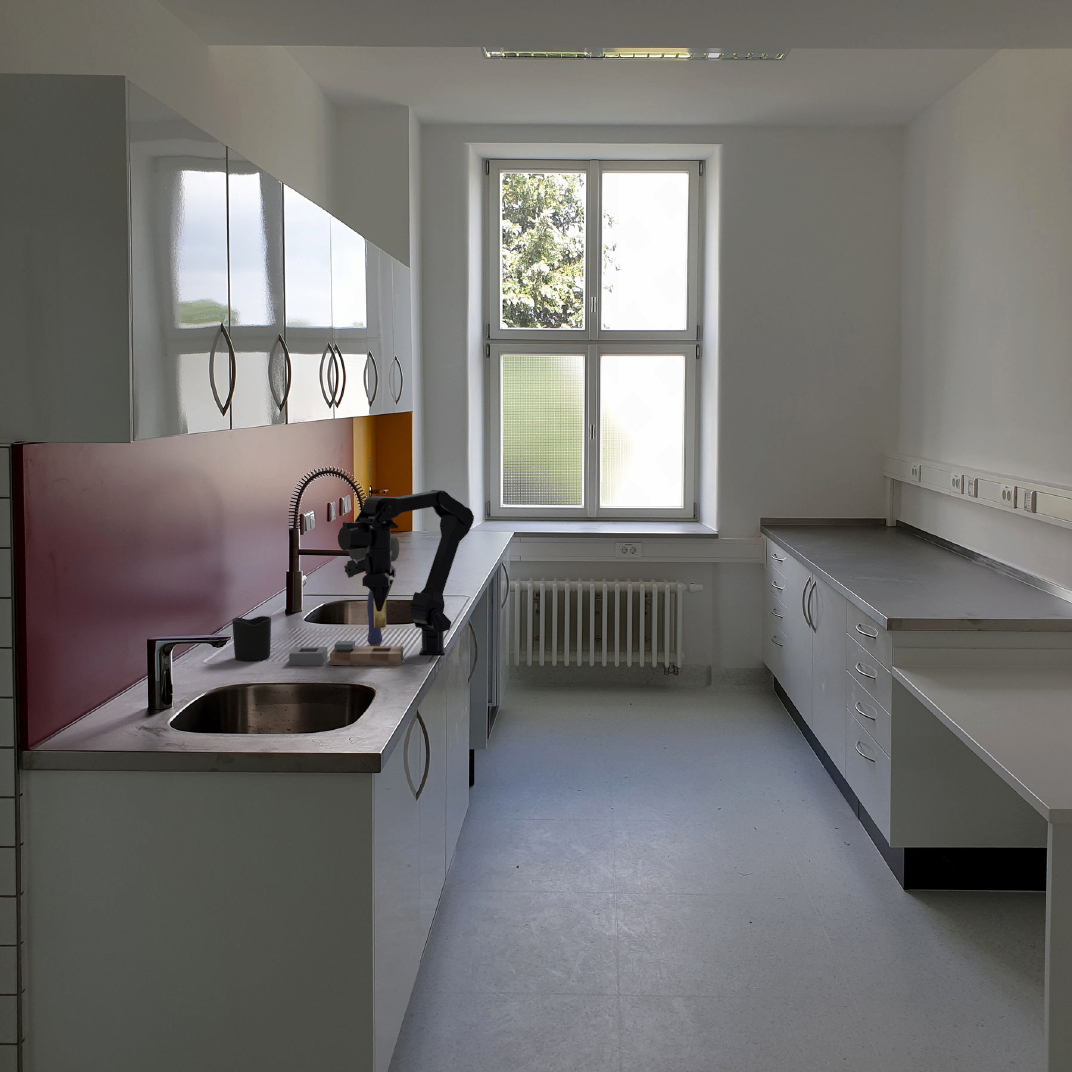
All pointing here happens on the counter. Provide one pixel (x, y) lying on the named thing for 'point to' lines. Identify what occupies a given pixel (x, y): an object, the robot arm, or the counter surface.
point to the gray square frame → (308, 656)
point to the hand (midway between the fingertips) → (379, 610)
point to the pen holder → (252, 638)
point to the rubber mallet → (374, 633)
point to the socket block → (368, 656)
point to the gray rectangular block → (344, 645)
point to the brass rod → (380, 617)
